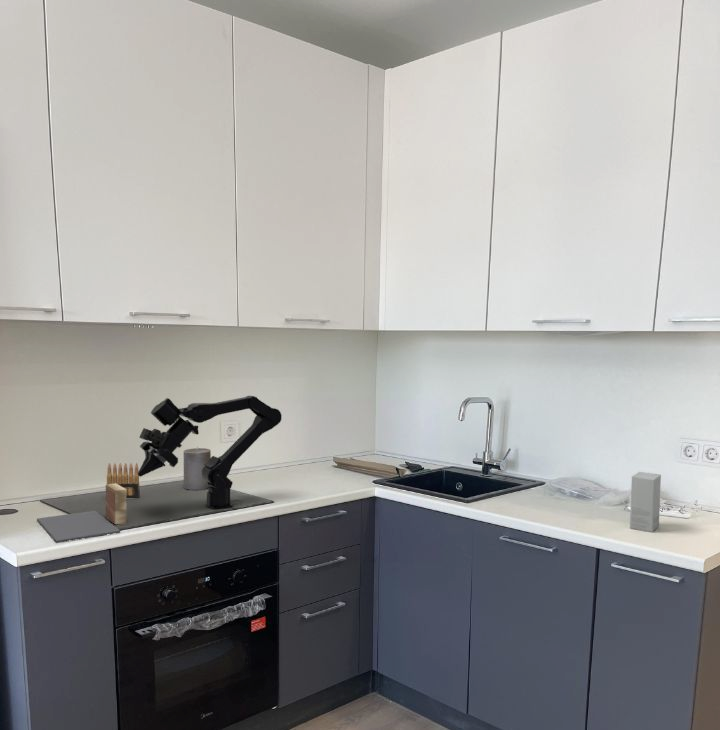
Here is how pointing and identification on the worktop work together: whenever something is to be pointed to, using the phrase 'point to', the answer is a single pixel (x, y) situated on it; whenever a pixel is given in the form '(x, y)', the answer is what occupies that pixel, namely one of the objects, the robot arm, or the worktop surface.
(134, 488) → the ammunition clip
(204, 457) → the pillar candle
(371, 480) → the worktop surface
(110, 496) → the wooden block
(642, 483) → the skincare box
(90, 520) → the rubber mat
